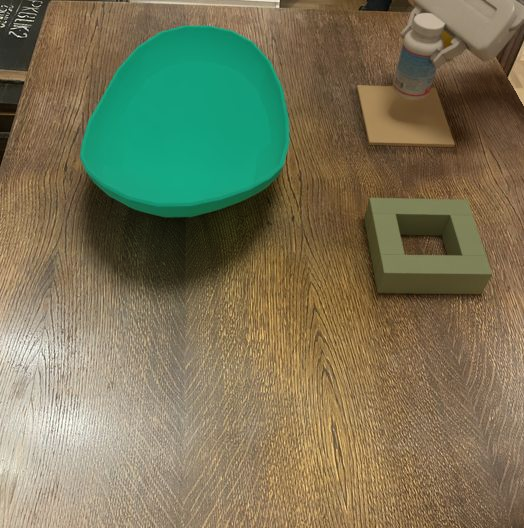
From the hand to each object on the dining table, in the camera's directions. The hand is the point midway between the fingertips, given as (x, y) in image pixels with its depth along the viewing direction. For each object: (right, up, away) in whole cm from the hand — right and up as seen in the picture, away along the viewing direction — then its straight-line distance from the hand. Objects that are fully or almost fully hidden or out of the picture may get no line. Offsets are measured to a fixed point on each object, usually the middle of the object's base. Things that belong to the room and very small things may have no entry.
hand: (417, 51), depth 93 cm
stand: (-2, -33, -9) cm, 34 cm away
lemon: (+9, +10, +22) cm, 26 cm away
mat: (0, -6, +9) cm, 11 cm away
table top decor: (-34, -21, -3) cm, 40 cm away
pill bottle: (0, -4, +6) cm, 7 cm away
